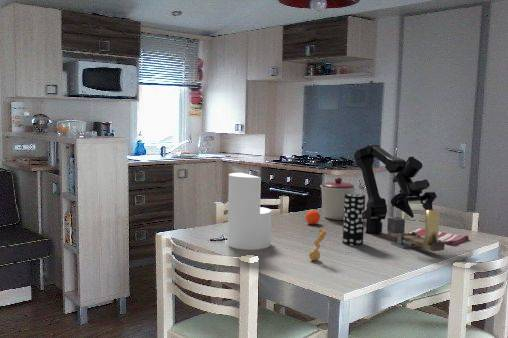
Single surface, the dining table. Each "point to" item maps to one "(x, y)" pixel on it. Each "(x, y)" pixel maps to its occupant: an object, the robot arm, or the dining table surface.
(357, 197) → the spotted tube
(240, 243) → the white stepped pillar
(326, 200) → the canister
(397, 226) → the balance beam
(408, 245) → the beam stand
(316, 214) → the clementine
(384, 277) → the dining table surface
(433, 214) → the brass weight
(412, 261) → the dining table surface
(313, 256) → the figurine
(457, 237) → the dish towel
